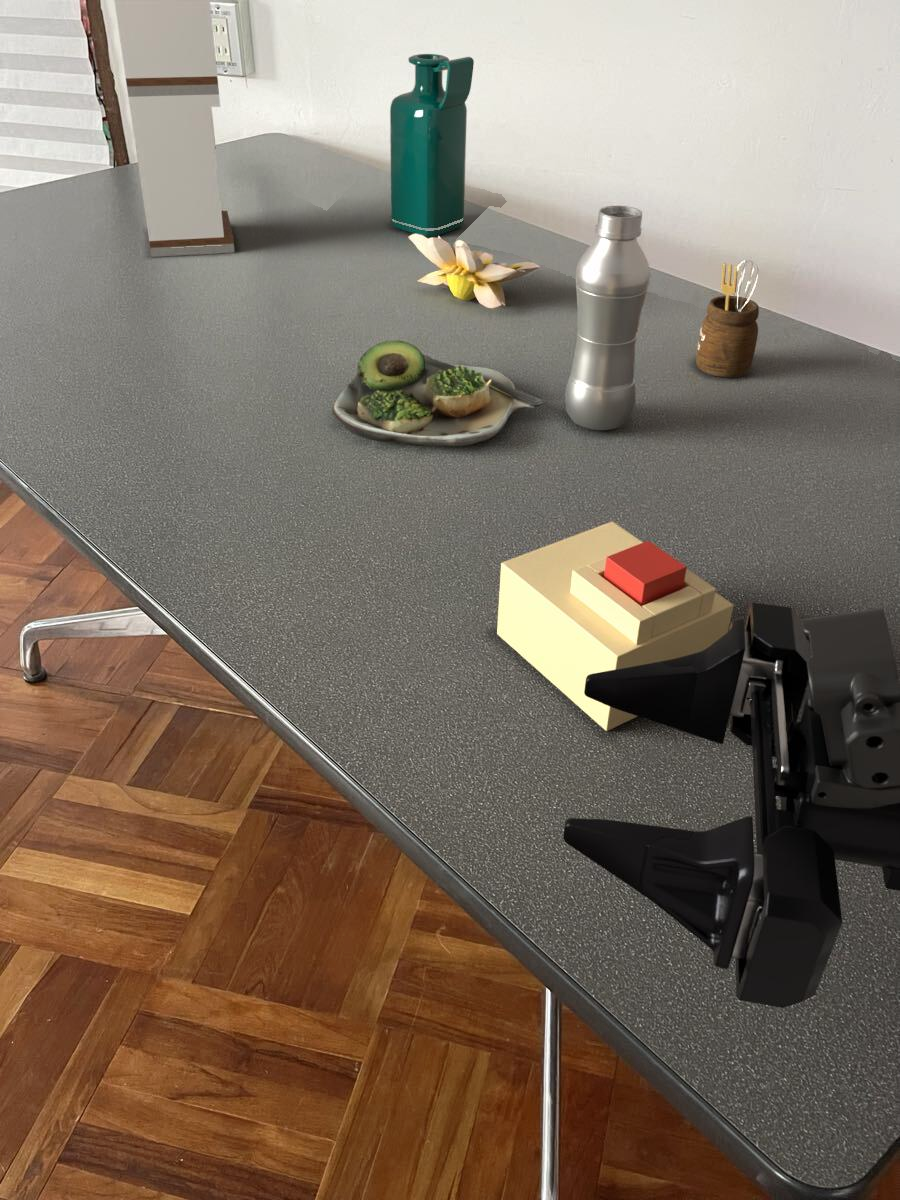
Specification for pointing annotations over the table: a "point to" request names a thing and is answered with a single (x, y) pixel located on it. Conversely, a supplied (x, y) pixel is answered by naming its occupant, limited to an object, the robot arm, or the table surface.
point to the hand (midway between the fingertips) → (575, 751)
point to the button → (645, 573)
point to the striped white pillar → (175, 122)
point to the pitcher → (430, 146)
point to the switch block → (598, 616)
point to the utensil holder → (728, 331)
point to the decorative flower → (468, 270)
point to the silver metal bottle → (608, 321)
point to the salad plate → (425, 399)
